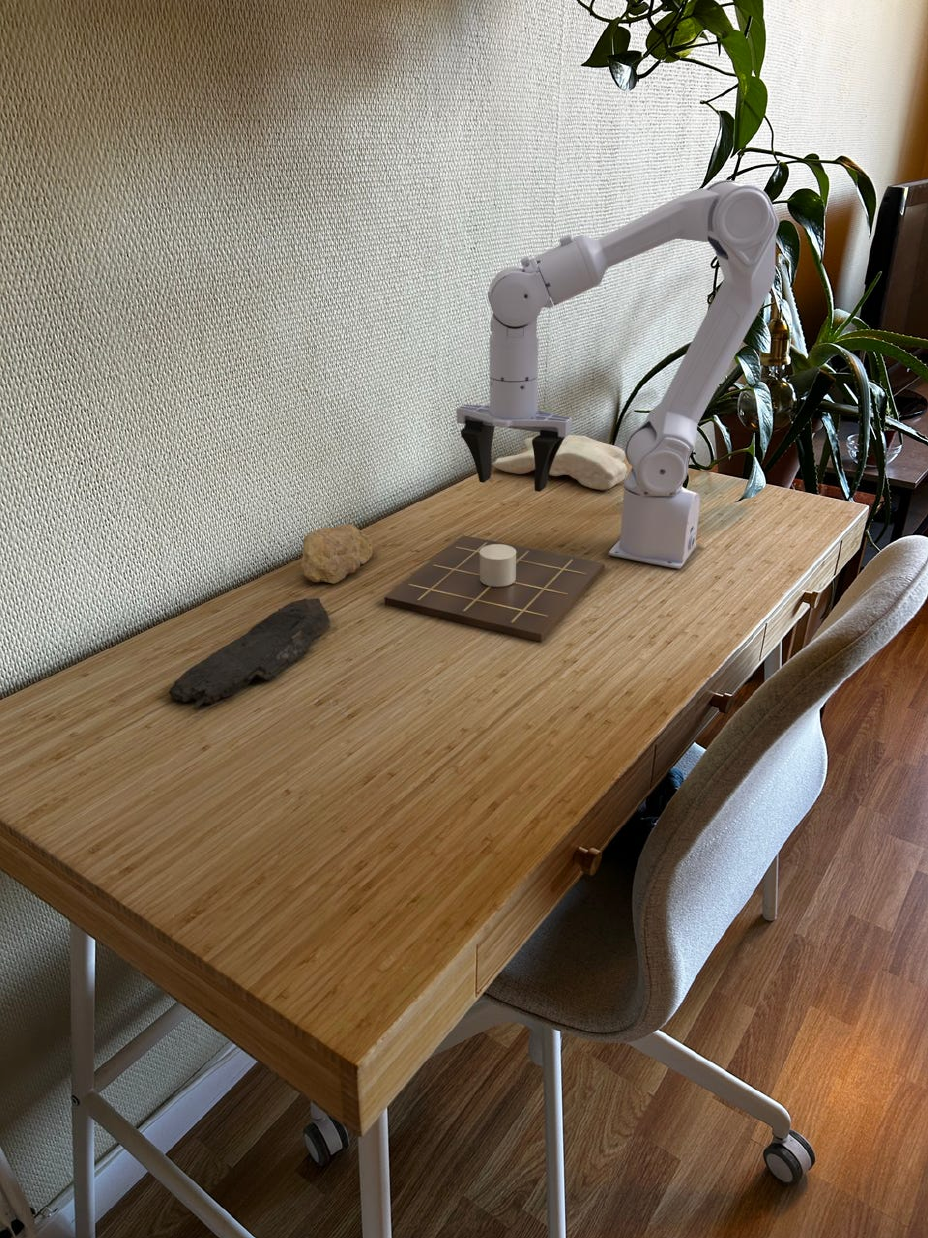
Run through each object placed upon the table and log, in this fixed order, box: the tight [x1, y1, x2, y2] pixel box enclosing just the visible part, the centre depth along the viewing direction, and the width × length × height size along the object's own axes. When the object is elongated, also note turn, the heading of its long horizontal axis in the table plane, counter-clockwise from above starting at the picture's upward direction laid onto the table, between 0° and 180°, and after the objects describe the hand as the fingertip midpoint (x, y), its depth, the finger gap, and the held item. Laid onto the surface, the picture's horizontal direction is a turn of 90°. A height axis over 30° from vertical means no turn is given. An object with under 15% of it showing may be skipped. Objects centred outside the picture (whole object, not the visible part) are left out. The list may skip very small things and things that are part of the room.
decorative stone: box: [492, 434, 628, 491], centre depth 146 cm, size 21×5×15 cm
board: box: [383, 534, 606, 643], centre depth 111 cm, size 20×20×1 cm
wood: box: [168, 597, 331, 710], centre depth 96 cm, size 22×7×3 cm, turn 150°
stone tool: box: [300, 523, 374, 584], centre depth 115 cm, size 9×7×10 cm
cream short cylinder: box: [479, 544, 516, 587], centre depth 110 cm, size 4×4×4 cm
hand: (512, 484), depth 115 cm, fingers open, 7 cm apart
